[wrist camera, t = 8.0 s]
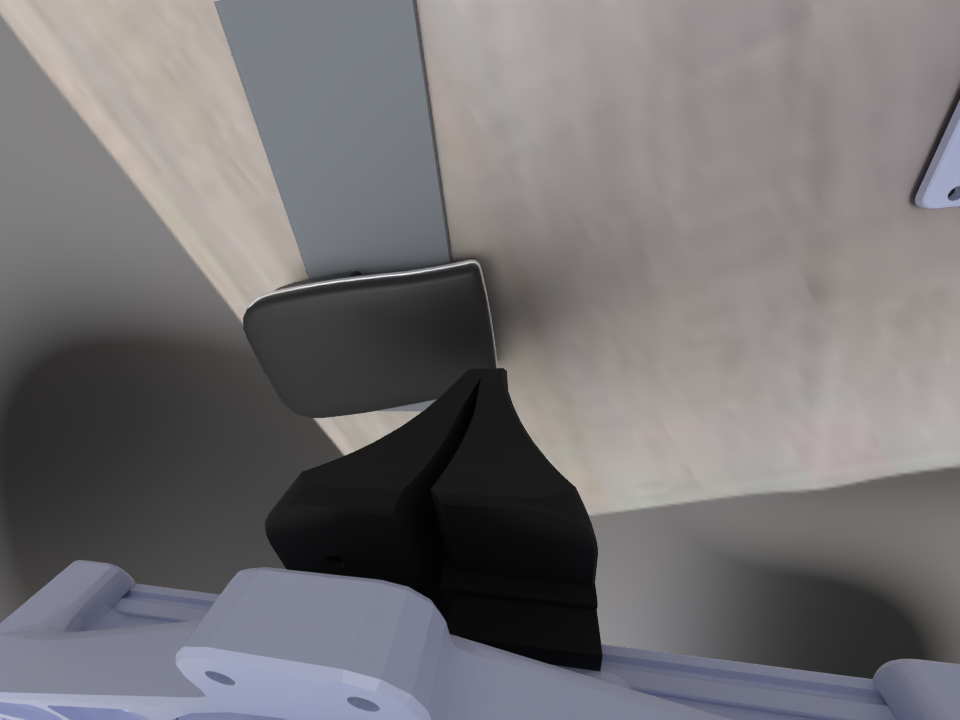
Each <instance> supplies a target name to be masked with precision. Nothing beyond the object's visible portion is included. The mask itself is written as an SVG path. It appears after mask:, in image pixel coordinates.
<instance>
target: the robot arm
mask: <svg viewBox="0 0 960 720" xmlns="http://www.w3.org/2000/svg"><path fill="white" fill-rule="evenodd" d="M953 188H955V192H954V193H953V194H952V196H950V197H949V198H948V194H949V192H950V191H951V190H952V189H953ZM915 203H916V205H917V206H918V207H920V208H930V209H935V208H948V207H960V100H959V103H958V105H957V107H956V109H955V111H954V113H953V116H952V118H951V120H950V122H949V124H948V127H947V129H946V131H945V133H944V135H943V138H942V140H941V142H940V144H939V146H938V148H937V151H936V153H935V155H934V157H933V159H932V162H931V164H930V166H929V168H928V170H927V172H926V175H925V177H924V179H923V181H922V183H921V186H920V188H919V190H918V192H917V194H916V197H915ZM265 530H266V535H267V537H268V540H269V542H270V544H271V545H272V547H273V549H274V550H275V552H276V553H277V555H278V556H279V558H280V560H281V561H282V563H283V564H284V566H285V568H286V569H287V570H286V569H276V568H268V567H265V568H254V569H246V570H242V571H239V572H238V573H237V574H236V576H235V577H234V578H233V579H232V580H231V582H230V583H229V584H228V585H227V587H226V588H225V590H224V591H223V592H222V593H221V595H218V594H210V593H202V592H194V591H187V590H179V589H172V588H164V587H157V586H149V585H141V584H134V580H133V579H132V578H131V576H130V575H128V573H127V572H125V571H124V570H123V569H121V568H119V567H117V566H115V565H112V564H108V563H99V562H91V561H83V560H79V561H75V562H73V563H72V564H71V565H69V566H68V567H67V568H66V569H65V570H63V571H62V572H61V573H60V574H59V575H57V576H56V577H55V578H54V579H53V580H52V581H50V582H49V583H48V584H47V585H46V586H44V587H43V588H42V589H41V590H40V591H38V592H37V593H36V594H35V595H34V596H33V597H31V598H30V599H29V600H28V601H27V602H25V603H24V604H23V605H22V606H21V607H19V608H18V609H17V610H16V611H15V612H14V613H12V614H11V615H10V616H9V617H8V618H6V619H5V620H4V621H3V622H2V623H1V624H0V720H960V664H952V663H943V662H935V661H926V660H918V659H899V660H894V661H890V662H888V663H886V664H884V665H882V666H881V667H880V668H879V669H878V670H877V672H876V674H875V675H874V678H873V679H865V678H857V677H850V676H842V675H834V674H827V673H819V672H811V671H804V670H796V669H788V668H780V667H773V666H765V665H757V664H750V663H742V662H734V661H727V660H718V659H711V658H703V657H695V656H688V655H680V654H672V653H665V652H657V651H650V650H641V649H634V648H626V647H619V646H611V645H603V644H601V640H600V632H599V625H598V617H597V610H596V609H597V595H596V588H595V576H596V567H597V558H598V547H597V541H596V537H595V534H594V530H593V527H592V524H591V521H590V518H589V516H588V513H587V511H586V509H585V506H584V504H583V502H582V500H581V498H580V495H579V493H578V491H577V489H576V487H575V486H573V485H572V484H571V483H570V482H569V481H568V480H567V479H566V478H565V477H564V476H563V475H562V474H561V473H560V472H558V471H557V469H556V468H555V467H554V466H553V465H552V464H551V463H550V462H549V461H548V460H547V459H546V457H545V456H544V455H543V453H542V452H541V451H540V450H539V448H538V447H537V446H536V445H535V443H534V442H533V441H532V439H531V438H530V436H529V434H528V433H527V431H526V430H525V428H524V426H523V425H522V423H521V421H520V419H519V417H518V415H517V413H516V411H515V409H514V406H513V404H512V401H511V398H510V395H509V392H508V383H507V371H506V370H505V369H504V368H486V369H469V370H468V371H466V372H465V373H464V374H463V375H462V376H461V377H460V378H459V379H458V380H457V381H456V382H455V383H454V384H453V385H452V386H451V387H450V388H449V389H448V390H447V391H446V392H445V393H444V394H443V395H442V396H441V397H439V398H438V399H437V400H436V401H435V402H433V403H432V404H431V405H430V406H429V407H428V408H426V409H425V410H424V411H423V412H421V413H420V414H419V415H417V416H416V417H415V418H413V419H412V420H410V421H409V422H407V423H406V424H404V425H403V426H401V427H400V428H398V429H397V430H395V431H393V432H391V433H390V434H388V435H386V436H384V437H382V438H381V439H379V440H377V441H375V442H374V443H372V444H370V445H367V446H365V447H363V448H361V449H359V450H357V451H355V452H353V453H350V454H348V455H346V456H343V457H341V458H339V459H336V460H334V461H331V462H328V463H326V464H323V465H320V466H317V467H315V468H312V469H310V470H306V471H303V472H302V473H301V474H300V475H299V476H298V478H297V479H296V480H295V481H294V483H293V484H292V485H291V487H290V488H289V489H288V491H287V492H286V493H285V494H284V495H283V497H282V498H281V499H280V500H279V502H278V503H277V504H276V505H275V507H274V508H273V509H272V511H271V512H270V513H269V514H268V517H267V519H266V521H265Z"/></svg>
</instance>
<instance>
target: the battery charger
mask: <svg viewBox="0 0 960 720" xmlns="http://www.w3.org/2000/svg"><path fill="white" fill-rule="evenodd" d="M243 328H244V331H245V334H246V336H247V339H248V341H249V343H250V345H251V347H252V349H253V351H254V353H255V355H256V357H257V359H258V361H259V363H260V365H261V366H262V368H263V370H264V372H265V374H266V375H267V377H268V379H269V381H270V382H271V384H272V386H273V388H274V389H275V391H276V393H277V394H278V396H279V398H280V399H281V401H282V402H283V403H284V405H285V406H286V407H288V408H289V409H290V410H291V411H292V412H294V413H296V414H298V415H300V416H304V417H309V418H326V417H335V416H343V415H351V414H359V413H366V412H372V411H378V410H384V409H390V408H395V407H400V406H406V405H411V404H417V403H421V402H426V401H431V400H437V399H438V398H439V397H441V396H442V395H443V394H444V393H445V392H446V391H447V390H448V389H449V388H450V387H451V386H452V385H453V384H454V383H455V382H456V381H457V380H458V379H459V378H460V377H461V376H462V375H463V374H464V373H465V372H466V371H468V370H469V369H486V368H498V364H497V355H496V347H495V339H494V332H493V325H492V319H491V313H490V307H489V302H488V296H487V291H486V286H485V282H484V278H483V273H482V269H481V266H480V264H479V262H478V261H477V259H475V258H470V259H466V260H460V261H453V262H449V263H444V264H438V265H433V266H427V267H421V268H415V269H409V270H399V271H388V272H380V273H371V274H361V273H360V272H359V271H352V272H346V273H339V274H333V275H328V276H322V277H317V278H312V279H307V280H303V281H298V282H294V283H291V284H288V285H286V286H283V287H280V288H278V289H276V290H275V291H272V292H269V293H267V294H264V295H262V296H260V297H259V298H257V299H256V300H254V301H253V302H252V303H251V304H250V306H249V307H248V309H247V311H246V313H245V315H244V317H243Z"/></svg>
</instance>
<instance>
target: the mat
mask: <svg viewBox="0 0 960 720" xmlns="http://www.w3.org/2000/svg"><path fill="white" fill-rule="evenodd" d="M214 3H215V6H216V9H217V12H218V15H219V18H220V21H221V24H222V27H223V30H224V32H225V35H226V38H227V41H228V44H229V47H230V50H231V53H232V56H233V59H234V62H235V64H236V67H237V70H238V73H239V76H240V79H241V82H242V85H243V88H244V91H245V93H246V96H247V99H248V102H249V105H250V108H251V111H252V114H253V117H254V120H255V123H256V125H257V128H258V131H259V134H260V137H261V140H262V143H263V146H264V149H265V152H266V155H267V157H268V160H269V163H270V166H271V169H272V172H273V175H274V178H275V181H276V184H277V186H278V189H279V192H280V195H281V198H282V201H283V204H284V207H285V210H286V213H287V216H288V218H289V221H290V224H291V227H292V230H293V233H294V236H295V239H296V242H297V245H298V247H299V250H300V253H301V256H302V259H303V262H304V265H305V268H306V271H307V274H308V277H309V279H312V278H317V277H322V276H328V275H333V274H339V273H346V272H352V271H359V272H360V273H361V274H371V273H380V272H388V271H399V270H409V269H415V268H421V267H427V266H433V265H438V264H444V263H449V262H452V257H451V250H450V243H449V236H448V229H447V221H446V214H445V207H444V200H443V193H442V185H441V178H440V171H439V164H438V157H437V150H436V142H435V135H434V128H433V121H432V114H431V106H430V99H429V92H428V85H427V78H426V71H425V63H424V56H423V49H422V42H421V35H420V27H419V20H418V13H417V6H416V0H220V1H216V2H214ZM435 401H436V400H431V401H426V402H421V403H417V404H411V405H406V406H400V407H395V408H390V409H384V410H378V411H424V410H425V409H426V408H428V407H429V406H430V405H431V404H432V403H433V402H435Z"/></svg>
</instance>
